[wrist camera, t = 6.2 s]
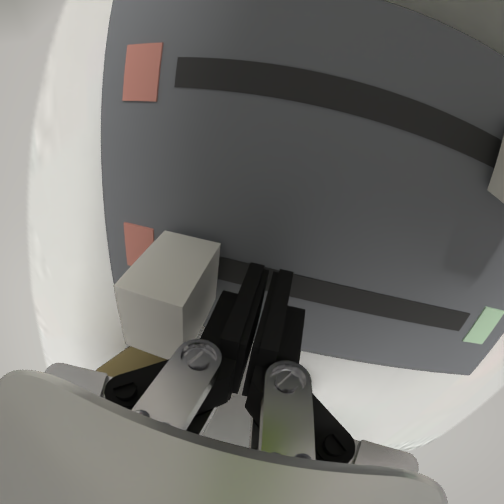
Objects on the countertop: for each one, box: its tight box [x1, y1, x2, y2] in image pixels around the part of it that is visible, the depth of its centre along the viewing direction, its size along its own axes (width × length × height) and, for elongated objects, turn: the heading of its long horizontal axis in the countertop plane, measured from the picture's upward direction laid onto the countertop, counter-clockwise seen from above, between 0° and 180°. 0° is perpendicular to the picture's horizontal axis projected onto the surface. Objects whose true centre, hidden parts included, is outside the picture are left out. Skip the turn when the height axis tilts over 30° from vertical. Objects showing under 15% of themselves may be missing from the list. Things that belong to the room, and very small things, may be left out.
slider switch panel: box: [101, 0, 504, 375], centre depth 11 cm, size 16×22×2 cm
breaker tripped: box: [114, 230, 221, 360], centre depth 11 cm, size 3×2×4 cm
